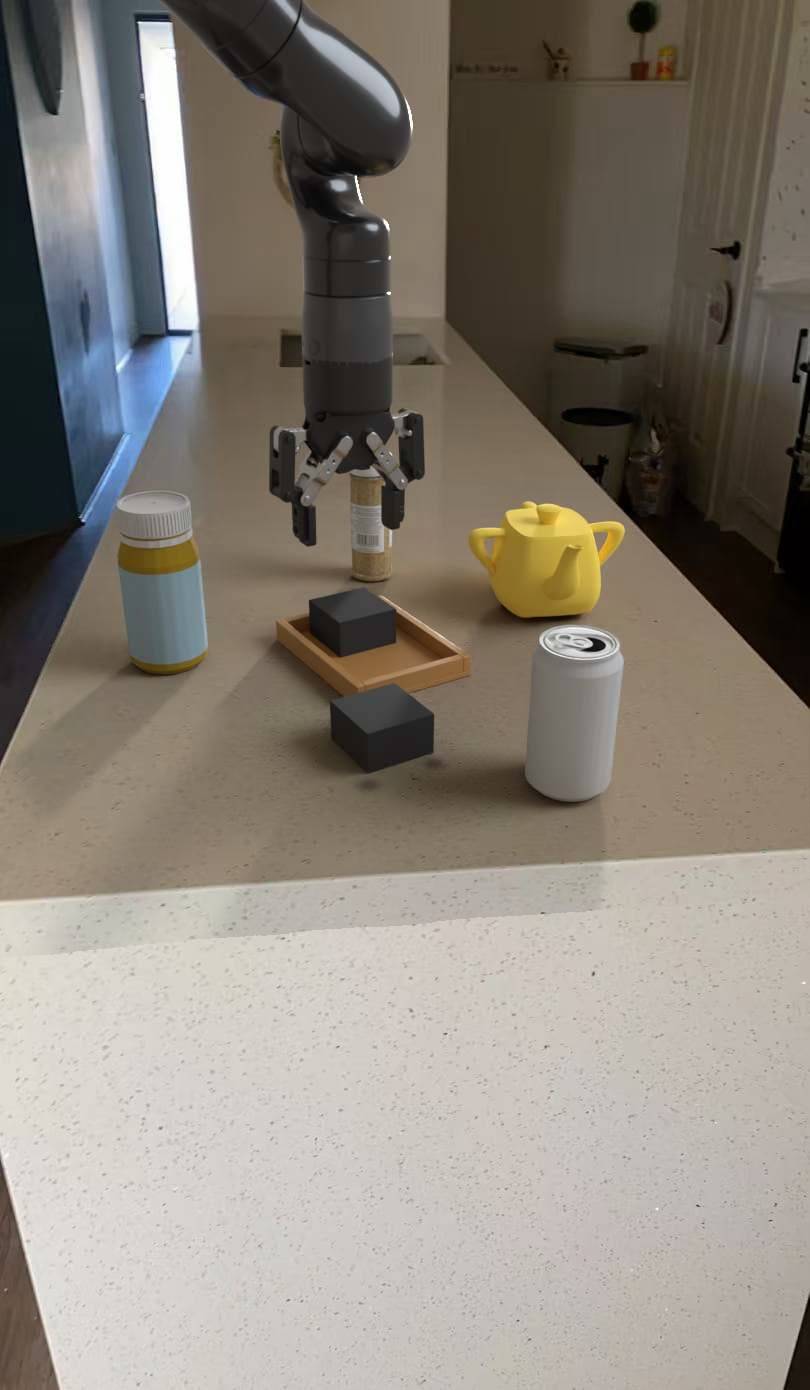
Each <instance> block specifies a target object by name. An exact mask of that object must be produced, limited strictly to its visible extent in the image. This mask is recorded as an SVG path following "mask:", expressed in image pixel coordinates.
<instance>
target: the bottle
mask: <svg viewBox="0 0 810 1390" xmlns="http://www.w3.org/2000/svg"><path fill="white" fill-rule="evenodd" d="M115 510H116V518H117V526H118V529H119V532H118V533H119V540H120V543H119V547H118V551H117V554H116V556H117V566H118V574H119V582H120V589H121V590H120V591H121V597H122V599H121V600H122V605H123V606H122V607H123V614H124V621H125V622H124V623H125V629H126V636H127V646H128V653H129V657H130V661H131V662H132V663H133V664H134V665H135V666H136V667H138V668H139V669H140V670H141V671H144V672H146V673H149V674H154V675H174V674H175V675H176V674H181V673H184V672H187V671H190V670H192V669H195V668H196V667H198V666H199V665H200V664H201V663H202V662H203V661H204V660H205V658H206V657H207V655H208V652H209V648H208V642H209V641H208V631H207V621H206V620H207V619H206V610H205V609H206V608H205V599H204V598H205V597H204V586H203V576H202V563H201V556H200V550H199V546H198V544H197V543H196V541H195V538H194V536H193V525H192V523H193V521H192V520H193V519H192V509H191V501H190V498H189V496H187V495H186V494H183V493H181V492H177V491H171V490H146V491H140V492H134V493H131V494H127V495H125V496H123V497H121V498H119V500H117V502H116V505H115Z"/></svg>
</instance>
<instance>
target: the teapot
mask: <svg viewBox="0 0 810 1390" xmlns="http://www.w3.org/2000/svg"><path fill="white" fill-rule="evenodd" d="M594 533H607V537H606V540H605V542H604V544H603V545H602V547H601V548H600V549H599V551H598V547H597V543H596V540H595V536H594ZM625 533H626V530H625V527H624V525H623V524H622V523H620V522H618V521H600V522H594V523H589V522H588V521H587V519H586V518H585V517H583V516H582V515H581V514H580V513H578V512H577V511H575V510H573V509H571V508H568V507H562V506H560V505H558V504H553V503H541V504H539V505H537V504H536V503H534V502H533V501H524V502H523V503H521V505H520V508H516V509H509V510H507V511H506V512H505V513H504V515H503V517H502V519H501V522H500V524H499V527H480V528H476V529H473V530H472V531H470V533H469V534H468V538H467V540H468V545H469V549H470V550H471V552H472V554H473V555H474V557H475V559H476V560H478V561H479V563H480V564H481V565H482V566H483V567H484V568H485V569H486V570H487V571H488V579H489V583H490V586H491V588H492V591H493V593H494V594H495V596H496V598H497V600H498V601H499V602H500V603H501V605H502V606H503V607H504V608H506V610H508V611H509V612H511V613H512V614H514V615H515V616H517V617H519V618H523V619H530V618H537V617H540V618H541V617H558V616H576V615H580V614H581V615H582V614H587V613H589V612H591V611H592V610H593V609H594V607H595V606H596V604H597V602H598V600H599V598H600V597H601V596H600V595H601V588H602V576H601V567H602V565H603V564H604V563H605V562H606V561H607V560H608V559H609V558H610V557H611V556H612V555H613V554H614V553H615V551H616V550H617V549H618V547H619V546H620V545H621V543H622V541H623V539H624V536H625ZM492 538H494V540H493V544H492V548H491V552H490V556H489V554H488V551H487V548H486V546H485V541H486V540H488V539H492Z"/></svg>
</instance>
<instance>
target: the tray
mask: <svg viewBox="0 0 810 1390" xmlns="http://www.w3.org/2000/svg"><path fill="white" fill-rule="evenodd" d="M377 596H378V597H379V598H381V599H382V600H384V601H385V602H387V603H388V604H390V605H391V606H393V607H394V608H396V643H394V644H390V645H386V646H383V647H379V648H375V649H371V650H367V651H364V652H360V653H356V654H352V655H349V656H345V657H341V658H340V657H339V656H338V655H336V654H335V653H334V652H333V651H331V650H330V649H329V648H328V647H326V646H325V645H324V644H323V643H321V642H320V641H319V640H318V639H316V638H315V637H314V636H313V635H311V634H310V618H309V612H306V613H302V614H298V615H293V616H289V617H286V618H280V619H277V620H275V630H276V631H275V632H276V635H275V636H276V640H277V641H278V642H279V643H280V644H281V645H282V646H284V647H285V648H286V649H287V650H288V651H290V653H292V654H293V655H294V656H296V657H297V658H298V659H299V660H300V661H301V662H302V663H304V664H305V665H306V666H307V667H308V668H310V669H311V670H312V671H313V672H314V673H315V674H316V675H318V676H319V677H320V678H321V679H322V680H323V681H325V682H326V683H327V684H328V685H329V686H331V687H332V688H333V689H334V690H335V691H336V692H338V693H339V694H340V695H341V696H342V697H346V696H349V695H353V694H356V693H360V692H364V691H367V690H371V689H374V688H378V687H381V686H385V685H389V684H392V683H396V684H397V685H398V686H400V687H401V688H402V689H403V690H405V691H406V692H407V693H408V694H411V693H415V692H419V691H421V690H425V689H428V688H432V687H435V686H438V685H442V684H445V683H449V682H452V681H456V680H459V679H462V678H466V677H470V676H471V660H472V659H471V655H470V654H469V653H467V652H466V651H464V650H463V649H462V648H460V647H459V646H457V645H455V644H454V643H452V641H450V640H448V639H447V638H445V637H444V636H442V635H441V634H439V633H438V632H436V631H434V630H433V629H431V628H430V627H429V626H427V625H426V624H424V623H423V622H422V621H420V620H418V619H417V618H415V617H414V616H412V615H411V614H409V613H408V612H407V611H405V610H404V609H402V608H400V607H399V606H398V605H396V604H394V603H393V602H392V601H390V600H389V599H387V598H386V597H384V596H383V595H377Z"/></svg>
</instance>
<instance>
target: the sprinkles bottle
mask: <svg viewBox="0 0 810 1390" xmlns="http://www.w3.org/2000/svg"><path fill="white" fill-rule="evenodd" d="M390 454H391V455H392V456H393V454H392V453H391V452H390ZM348 475H349V480H350V481H349V489H350V490H349V491H350V494H349V495H350V498H349V511H350V513H349V516H350V546H351V569H350V573H351V576H352V577H354V578H355V579H357V580H360V581H363V582H381V581H383V580H384V581H385V580H387V579H388V578H390V577H391V576H392V575H393V571H394V570H393V567H392V562H393V561H392V546H393V530H390V529H388V528H387V527H385V526H383V524H382V522H381V485H385V482H384V481H383V479H382V478H381V477H380V475H379V474H378V473H377V471H376V470H375V469H374V468H373V467H372V466H370V469H368V470H356V469H354V470H352V471H350V472H348Z"/></svg>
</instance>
